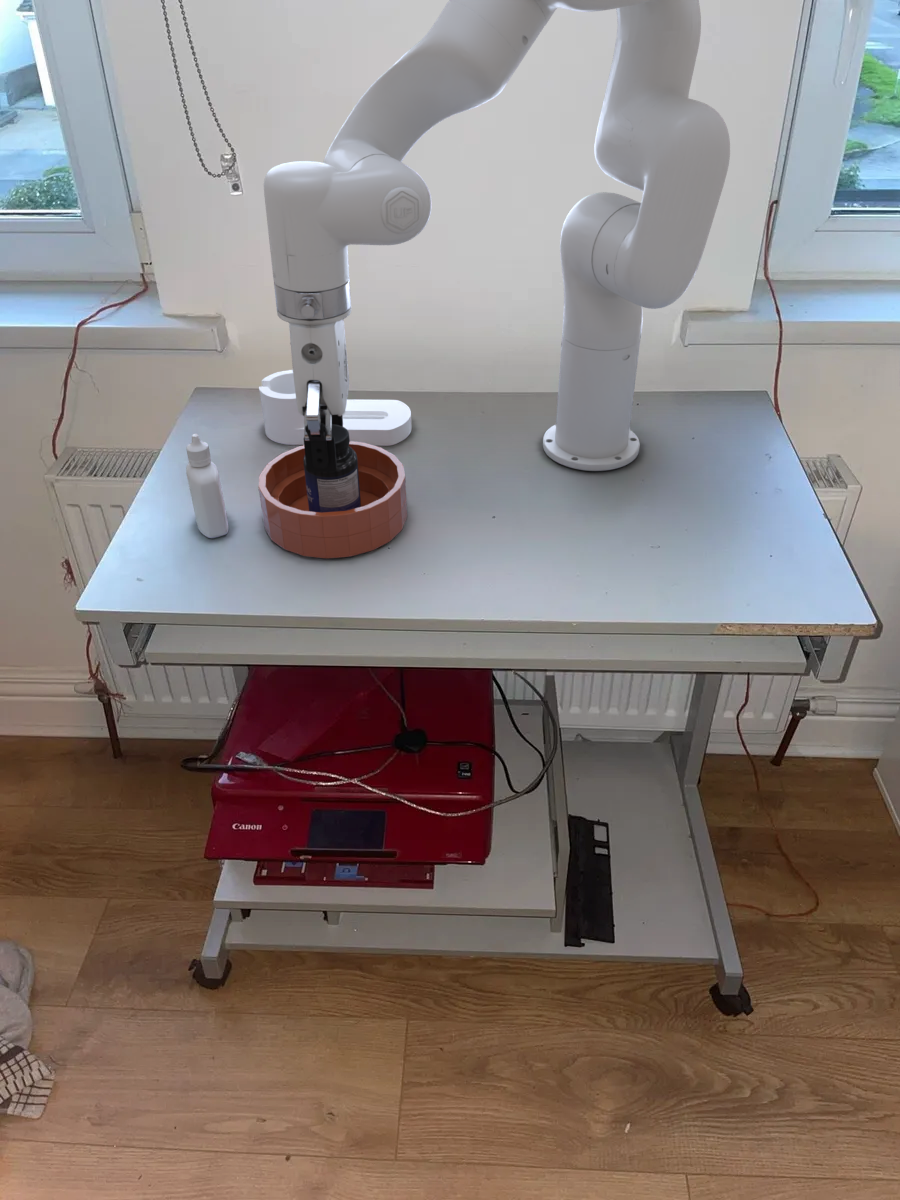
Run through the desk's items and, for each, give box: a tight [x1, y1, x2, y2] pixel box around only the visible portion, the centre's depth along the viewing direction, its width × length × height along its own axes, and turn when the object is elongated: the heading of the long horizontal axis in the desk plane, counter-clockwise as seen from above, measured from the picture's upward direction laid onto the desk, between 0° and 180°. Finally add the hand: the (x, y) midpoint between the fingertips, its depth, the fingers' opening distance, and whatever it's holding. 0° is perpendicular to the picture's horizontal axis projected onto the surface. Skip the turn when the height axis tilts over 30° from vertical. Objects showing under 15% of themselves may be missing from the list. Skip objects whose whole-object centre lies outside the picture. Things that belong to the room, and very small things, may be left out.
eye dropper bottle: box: [185, 433, 230, 539], centre depth 107 cm, size 4×6×12 cm
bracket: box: [258, 369, 412, 447], centre depth 127 cm, size 20×9×7 cm, turn 88°
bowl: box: [257, 441, 408, 559], centre depth 110 cm, size 17×17×6 cm
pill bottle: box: [303, 424, 361, 513], centre depth 108 cm, size 6×6×11 cm
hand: (325, 448), depth 106 cm, fingers open, 9 cm apart
